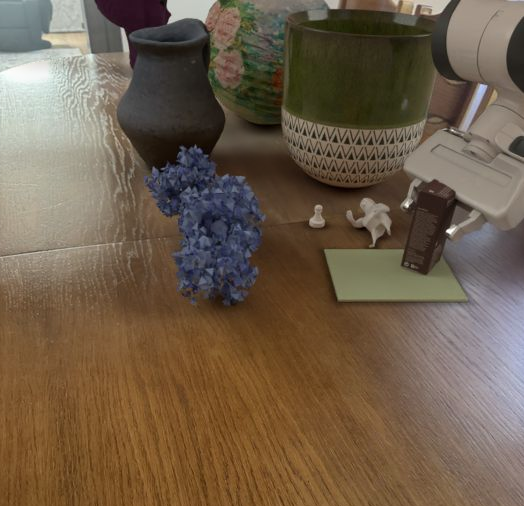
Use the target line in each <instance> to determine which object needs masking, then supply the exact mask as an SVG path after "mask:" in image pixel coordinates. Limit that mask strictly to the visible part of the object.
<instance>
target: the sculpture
mask: <svg viewBox="0 0 524 506" xmlns="http://www.w3.org/2000/svg"><path fill="white" fill-rule="evenodd" d="M93 1H94V3H95V5H96V9H97V10H98V11H99V13H100V14H101V15H102V16H103V17H104V18H105V19H107V21H109V22H110V23H112V24H113V25H115V26H117V27H119V28H121V29H123V30H124V33H125V37H126V40H127V45H128V59H129V63H128V64H129V65H130V68H131V69H132V71H134V65H135V62H136V59H137V55H138V54H137V51H136V49H135V48H134V47H133V45H132V44H131V42H130V40H129V35H130V34H131V33H132V32H134V31H137V30H140V29H145V28H151V27H160V26H163V25H167V24H169V20H170V18H171V17H172V12H170V11H169V9H168V0H93Z"/></svg>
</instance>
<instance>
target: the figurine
mask: <svg viewBox="0 0 524 506" xmlns="http://www.w3.org/2000/svg"><path fill="white" fill-rule="evenodd" d="M359 207H360V209H361V210H362V211H363V213H364V217H360V218H358V219H357V220H355V218H354V216H353V215H354V214H353V212H352V210H351V209H350V210H347V211H346V214H345V215H346V216H345V217H346V219H347V220H348V221H349V222H350V224H351V225H352V226H353V228H355V229H356V228H357V229H361V228H366V230H367V231H369V233H370V234H371V238H372V244H369V245H368V247H369V248H368V249H373V248H375V246H376V245H375V244H376V241H377V240H378V239H379V238H380V237H382V236H383V235H384V234H385V232H386V233H387V234H388V236H391V235H392V234H391V226H392V223H393V221H392V219H391V218H390V217H389V215H388V214H387V213H389V212H391V208H390V207H389V205H386V204H384V203H382V202H379V203H376V202H375V201H374V200H373V199H372V198H369V197H364V198H362V199H361V201H360V203H359Z"/></svg>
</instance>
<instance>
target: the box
mask: <svg viewBox="0 0 524 506" xmlns="http://www.w3.org/2000/svg"><path fill="white" fill-rule="evenodd" d="M455 193H456V192H455V191H454V190H453V189H451V188H450V187H448V186H447V185H445V184H443V183H441V182H440V181H438V180H436V179H433V180H432V181H431V182H428V183H427V184H426V185H425V187H423V188H422V189H421V190H419V194H418V198H417V202H416V206H415V209H414V213H413V214H412V218H411V222H410V227H409V229H408V235H407V237H406V242H405V246H404V253H403V257H402V262H401V265H400V266H401V267H403V268H404V269H407V270H410V271H413V272H416V273H420V274H423V275H427V274H428V273H429V271H430V270H431V269H432V268H433V267H434V266H435V265H436V264H437V263H438V262H439V261H440V259H441V255H442V256H443V252H444V249H445V245H446V241H447V239H448V238H447V237H446V236H445V232H446V230H447V229H449V227H450V225H451V221H452V218H453V215H454V212H455V208H456V203H457V201H458V200H457V199H455V198H454V196H455Z"/></svg>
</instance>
